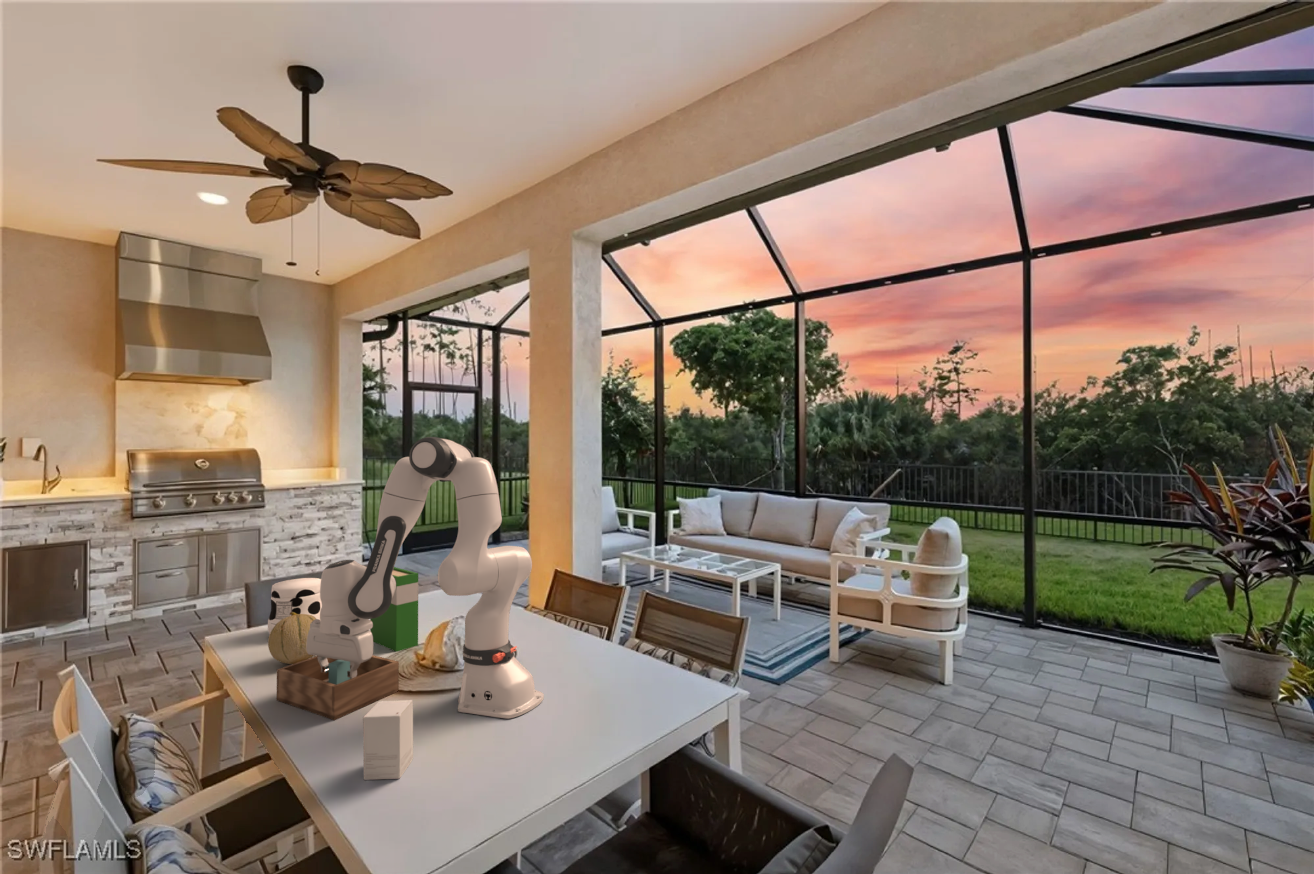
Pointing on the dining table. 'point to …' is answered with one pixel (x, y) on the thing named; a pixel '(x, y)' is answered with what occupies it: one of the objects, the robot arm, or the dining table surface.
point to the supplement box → (388, 739)
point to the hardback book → (399, 614)
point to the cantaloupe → (290, 638)
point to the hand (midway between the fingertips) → (338, 674)
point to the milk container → (294, 599)
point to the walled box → (336, 686)
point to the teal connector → (338, 671)
